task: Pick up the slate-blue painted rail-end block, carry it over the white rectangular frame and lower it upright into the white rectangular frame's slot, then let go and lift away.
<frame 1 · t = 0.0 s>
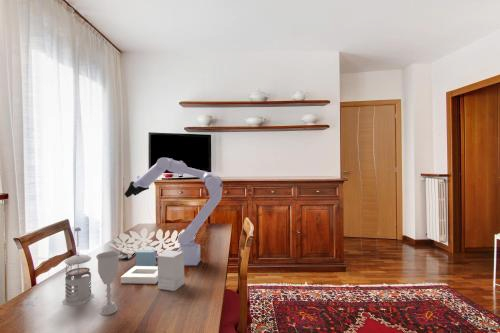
hand: (129, 194, 137), 32 cm above the table, tool tilted 50°, fingers open, 7 cm apart
woman figurine: (131, 256, 148), on the table
white rectangular frame: (144, 277, 119), on the table
supplement box: (171, 286, 110), on the table
chalice: (108, 311, 92), on the table
french press: (77, 298, 101), on the table
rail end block: (145, 266, 132), on the table
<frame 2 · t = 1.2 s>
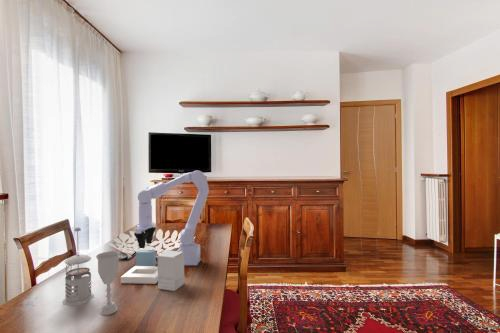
hand: (145, 245, 132), 9 cm above the table, tool pointing down, fingers open, 7 cm apart
nothing on the table moved.
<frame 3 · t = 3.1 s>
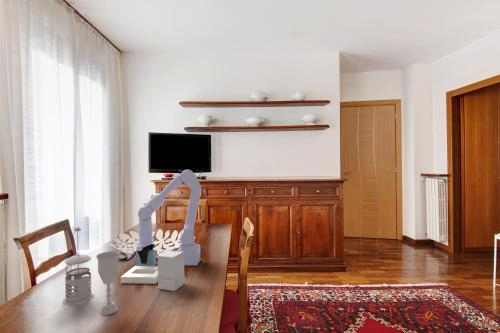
hand: (145, 261, 132), 2 cm above the table, tool pointing down, fingers closed on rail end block, 3 cm apart
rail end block: (145, 266, 132), on the table, touching gripper
everything else where it was.
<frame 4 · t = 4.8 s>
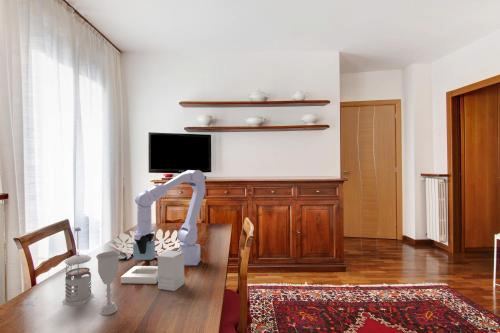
hand: (144, 252, 124), 9 cm above the table, tool pointing down, fingers closed on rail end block, 3 cm apart
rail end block: (144, 258, 124), point 6 cm above the table, touching gripper
everything else where it was.
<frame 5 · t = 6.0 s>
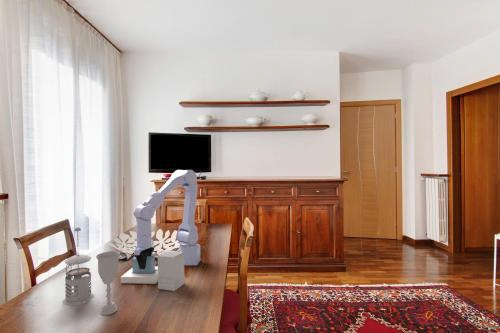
hand: (144, 267, 119), 4 cm above the table, tool pointing down, fingers closed on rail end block, 3 cm apart
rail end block: (143, 274, 119), point 1 cm above the table, touching gripper
everything else where it was.
when the fingers open (3 cm above the table, at t = 7.0 s): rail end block stays where it is, resting in white rectangular frame.
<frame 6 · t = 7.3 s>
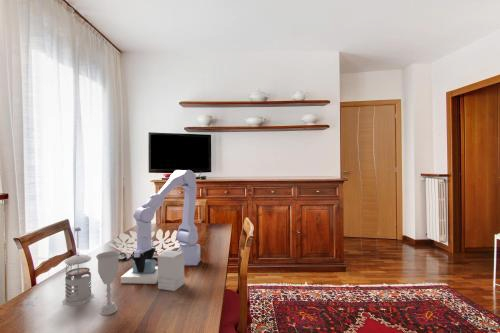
hand: (144, 269, 119), 3 cm above the table, tool pointing down, fingers open, 6 cm apart
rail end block: (144, 277, 119), resting in white rectangular frame
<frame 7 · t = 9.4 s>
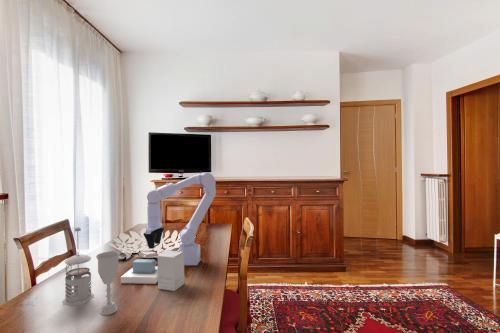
hand: (154, 245, 132), 9 cm above the table, tool pointing down, fingers open, 7 cm apart
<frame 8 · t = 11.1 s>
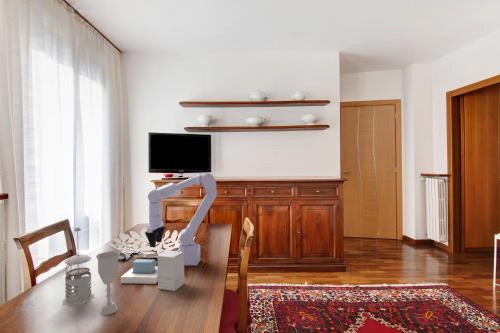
hand: (155, 244, 134), 9 cm above the table, tool pointing down, fingers open, 7 cm apart
at the end: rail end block 0.2 cm off-centre on the white rectangular frame, point 0.0 cm above the white rectangular frame's base; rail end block tilted 0°; the gripper is holding nothing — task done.
